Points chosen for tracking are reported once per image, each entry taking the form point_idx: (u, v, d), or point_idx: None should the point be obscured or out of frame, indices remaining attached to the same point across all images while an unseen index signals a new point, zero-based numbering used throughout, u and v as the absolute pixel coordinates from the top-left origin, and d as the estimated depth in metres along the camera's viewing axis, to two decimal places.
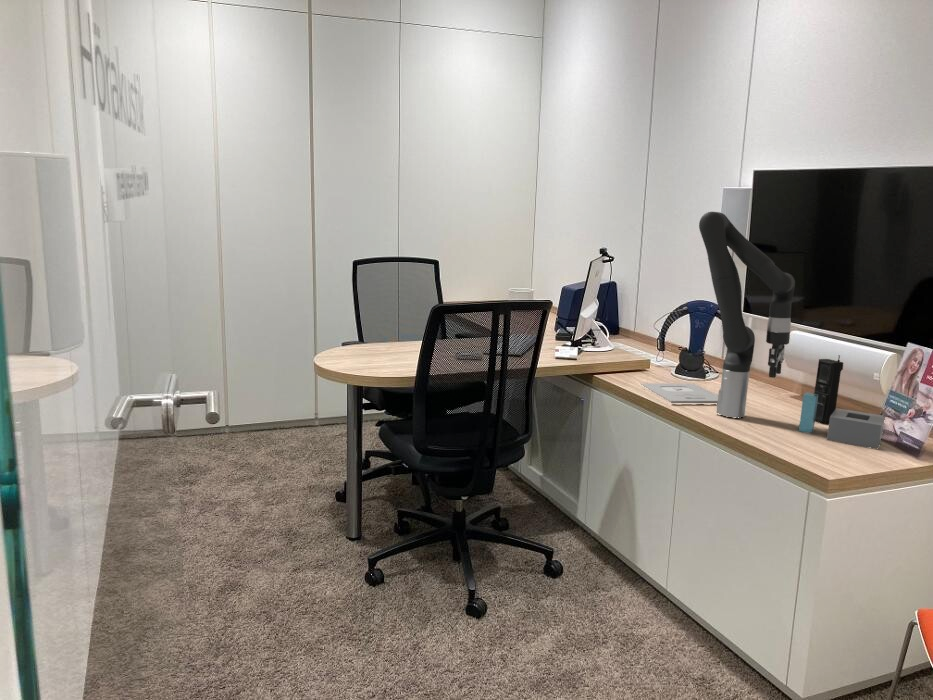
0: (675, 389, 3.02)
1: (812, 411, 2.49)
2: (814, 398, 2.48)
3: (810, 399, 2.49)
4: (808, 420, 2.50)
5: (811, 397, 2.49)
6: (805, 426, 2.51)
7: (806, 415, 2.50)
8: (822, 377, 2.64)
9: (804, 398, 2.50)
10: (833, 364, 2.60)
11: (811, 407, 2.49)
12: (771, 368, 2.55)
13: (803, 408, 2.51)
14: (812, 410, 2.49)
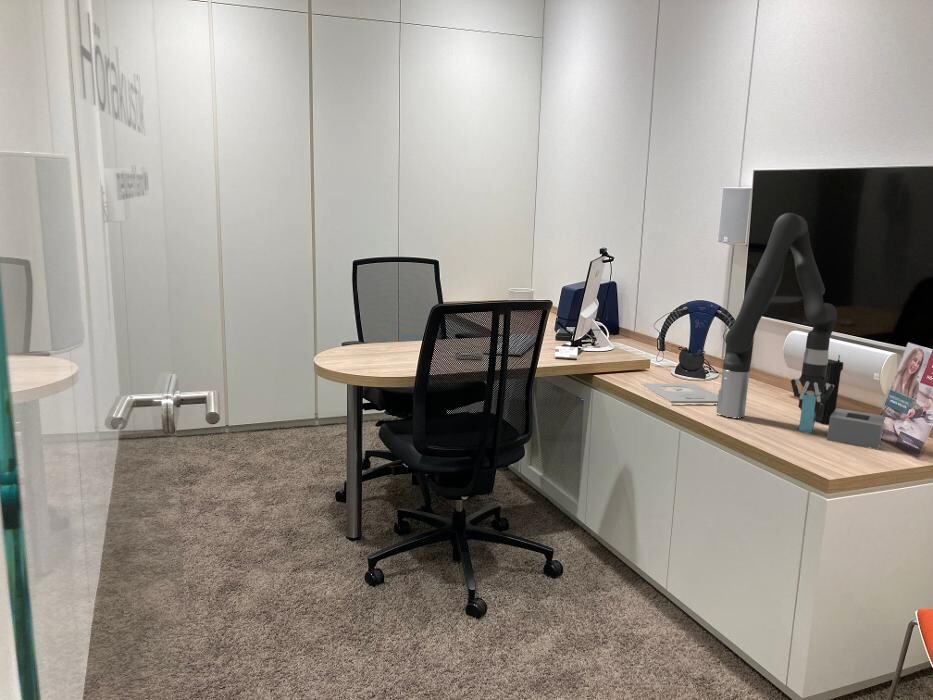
0: (675, 389, 3.02)
1: (812, 411, 2.49)
2: (814, 398, 2.48)
3: (810, 399, 2.49)
4: (808, 420, 2.50)
5: (811, 397, 2.49)
6: (805, 426, 2.51)
7: (805, 414, 2.50)
8: None
9: (804, 398, 2.50)
10: (833, 364, 2.60)
11: (811, 407, 2.49)
12: None
13: (803, 408, 2.51)
14: (812, 410, 2.49)
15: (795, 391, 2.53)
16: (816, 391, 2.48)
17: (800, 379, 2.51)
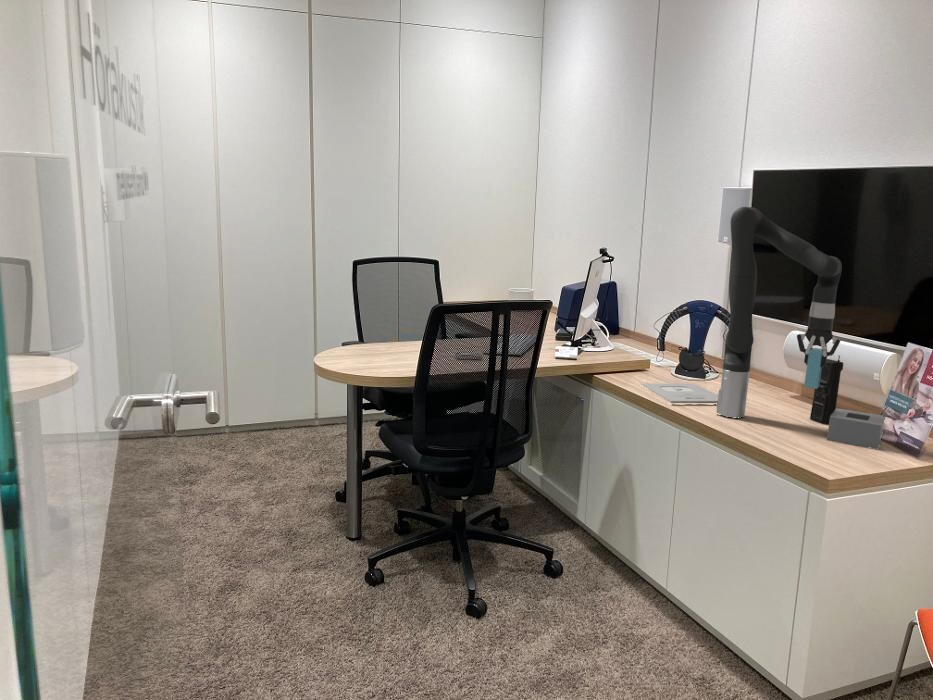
0: (675, 389, 3.02)
1: (818, 366, 2.46)
2: (820, 352, 2.46)
3: (816, 354, 2.46)
4: (813, 375, 2.48)
5: (817, 352, 2.46)
6: (810, 381, 2.48)
7: (811, 370, 2.48)
8: (822, 377, 2.64)
9: (810, 353, 2.47)
10: (833, 364, 2.60)
11: (817, 362, 2.46)
12: None
13: (809, 363, 2.48)
14: (818, 365, 2.46)
15: (801, 346, 2.50)
16: (822, 345, 2.46)
17: (806, 334, 2.49)
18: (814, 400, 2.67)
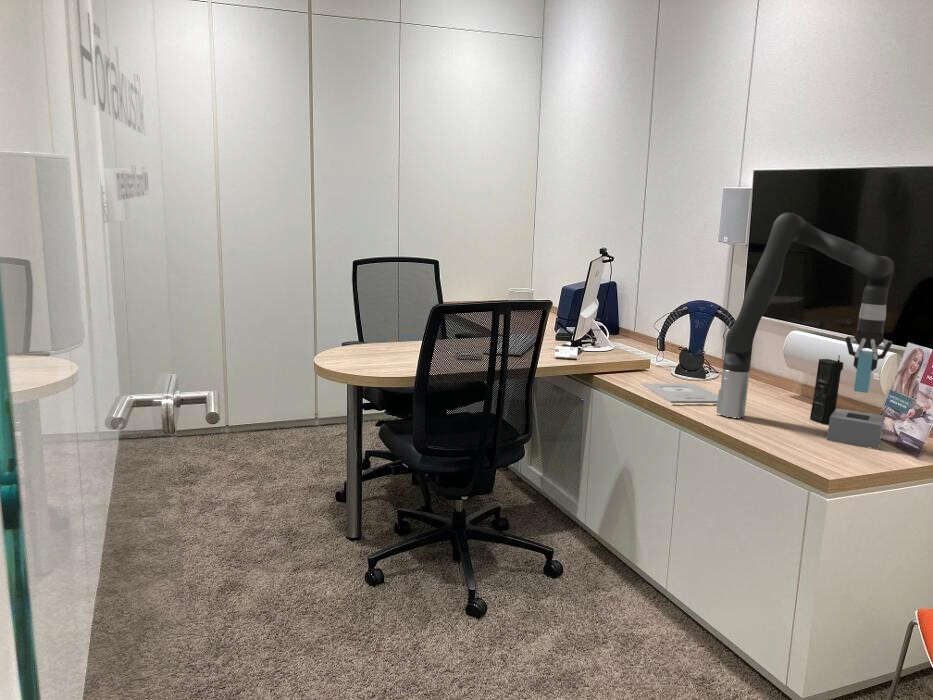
0: (675, 389, 3.02)
1: (868, 369, 2.38)
2: (871, 355, 2.37)
3: (866, 357, 2.38)
4: (864, 379, 2.39)
5: (868, 354, 2.38)
6: (860, 385, 2.40)
7: (861, 373, 2.39)
8: (822, 377, 2.64)
9: (860, 356, 2.39)
10: (833, 364, 2.60)
11: (867, 365, 2.38)
12: None
13: (859, 366, 2.40)
14: (868, 368, 2.38)
15: (850, 349, 2.42)
16: (873, 348, 2.37)
17: (855, 336, 2.40)
18: (814, 400, 2.67)
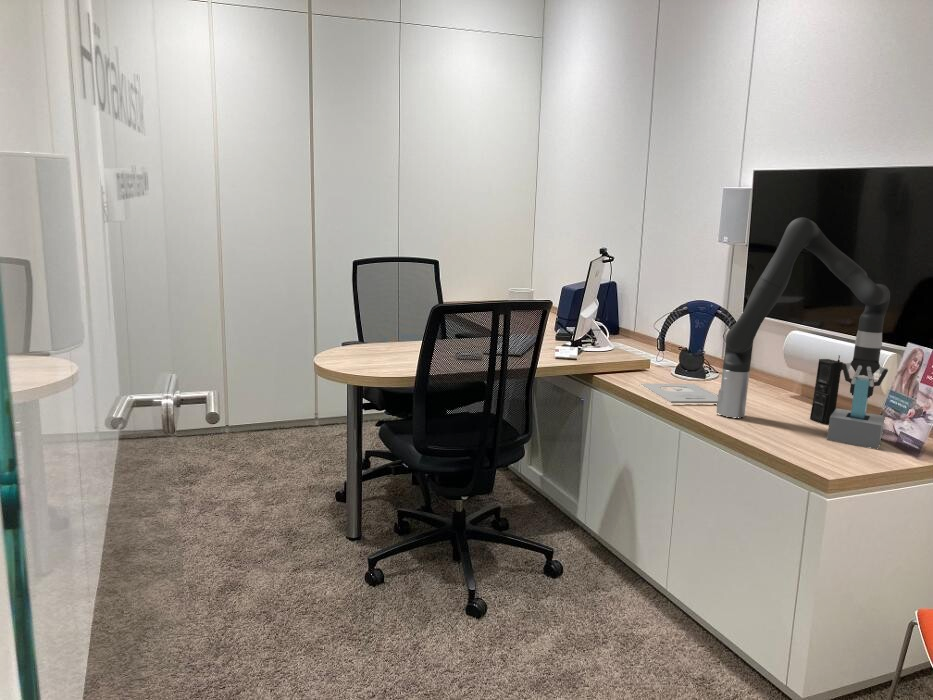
0: (675, 389, 3.02)
1: (865, 396, 2.40)
2: (867, 383, 2.39)
3: (863, 384, 2.40)
4: (860, 406, 2.41)
5: (864, 382, 2.39)
6: (857, 412, 2.42)
7: (858, 400, 2.41)
8: (822, 377, 2.64)
9: (856, 383, 2.41)
10: (833, 364, 2.60)
11: (864, 392, 2.40)
12: None
13: (855, 393, 2.41)
14: (865, 395, 2.40)
15: (846, 376, 2.43)
16: (869, 375, 2.39)
17: (852, 363, 2.42)
18: (814, 400, 2.67)
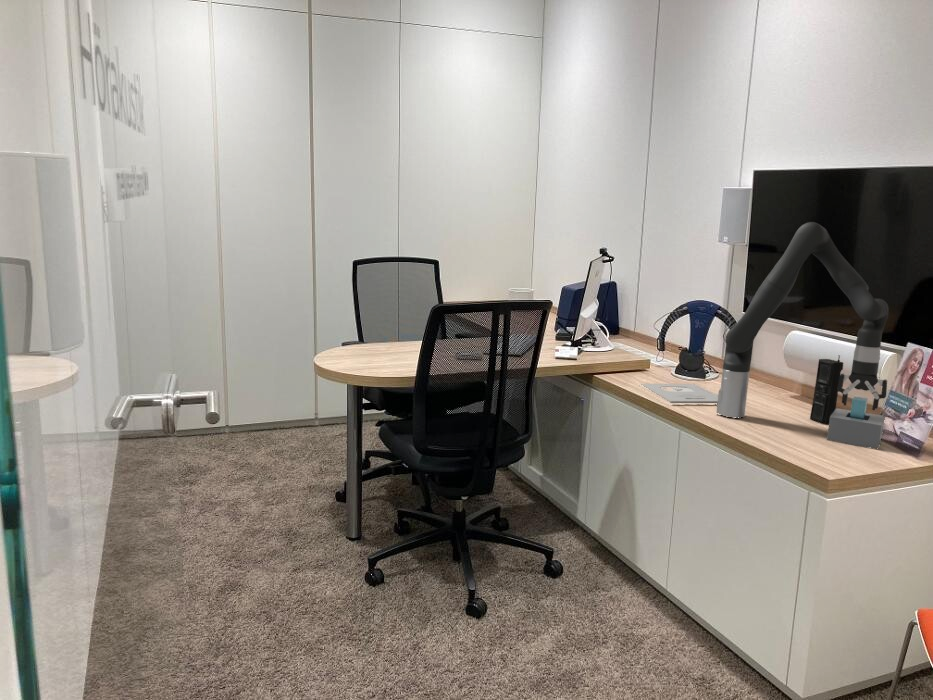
0: (675, 389, 3.02)
1: (861, 416, 2.41)
2: (864, 403, 2.40)
3: (859, 404, 2.41)
4: None
5: (860, 402, 2.41)
6: None
7: None
8: (822, 377, 2.64)
9: (853, 403, 2.42)
10: (833, 364, 2.60)
11: (861, 412, 2.41)
12: None
13: (852, 413, 2.42)
14: (861, 415, 2.41)
15: (840, 386, 2.45)
16: (870, 389, 2.39)
17: (850, 377, 2.43)
18: (814, 400, 2.67)
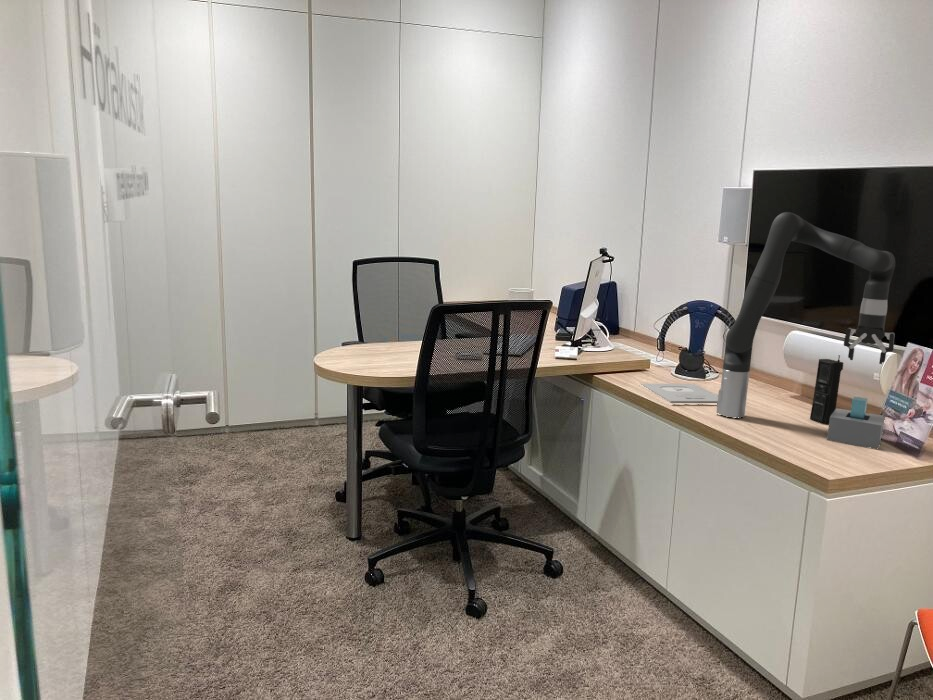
0: (675, 389, 3.02)
1: (861, 416, 2.41)
2: (864, 403, 2.40)
3: (859, 404, 2.41)
4: None
5: (860, 402, 2.41)
6: None
7: None
8: (822, 377, 2.64)
9: (853, 403, 2.42)
10: (833, 364, 2.60)
11: (861, 412, 2.41)
12: None
13: (852, 413, 2.42)
14: (861, 415, 2.41)
15: (846, 340, 2.42)
16: (877, 342, 2.36)
17: (857, 330, 2.40)
18: (814, 400, 2.67)
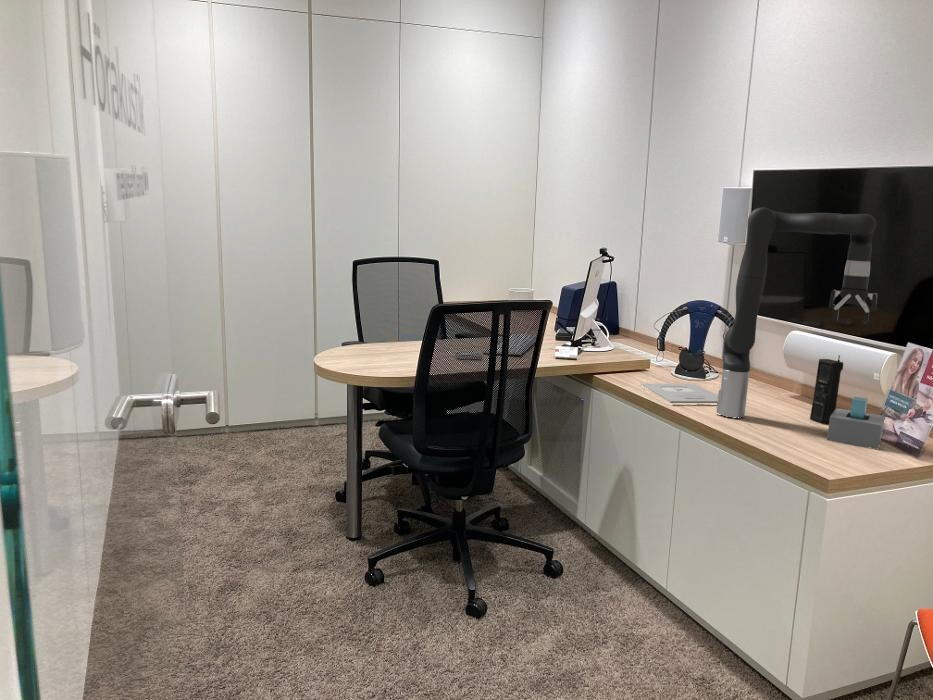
0: (675, 389, 3.01)
1: (861, 416, 2.41)
2: (864, 403, 2.40)
3: (859, 404, 2.41)
4: None
5: (860, 402, 2.41)
6: None
7: None
8: (822, 377, 2.64)
9: (853, 403, 2.42)
10: (833, 364, 2.60)
11: (861, 412, 2.41)
12: None
13: (852, 413, 2.42)
14: (861, 415, 2.41)
15: (831, 302, 2.51)
16: (861, 303, 2.45)
17: (841, 292, 2.49)
18: (814, 400, 2.67)
